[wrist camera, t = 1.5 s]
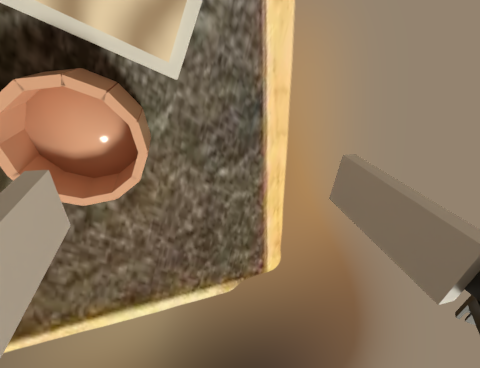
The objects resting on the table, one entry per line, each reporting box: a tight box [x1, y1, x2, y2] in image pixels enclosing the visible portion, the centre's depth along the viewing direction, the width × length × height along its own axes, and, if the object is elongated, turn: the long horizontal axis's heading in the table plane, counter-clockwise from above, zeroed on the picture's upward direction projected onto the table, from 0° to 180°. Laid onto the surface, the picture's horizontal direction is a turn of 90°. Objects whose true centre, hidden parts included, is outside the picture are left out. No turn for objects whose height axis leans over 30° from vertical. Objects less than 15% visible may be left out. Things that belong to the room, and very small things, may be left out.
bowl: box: [0, 68, 151, 206], centre depth 27 cm, size 14×14×6 cm
